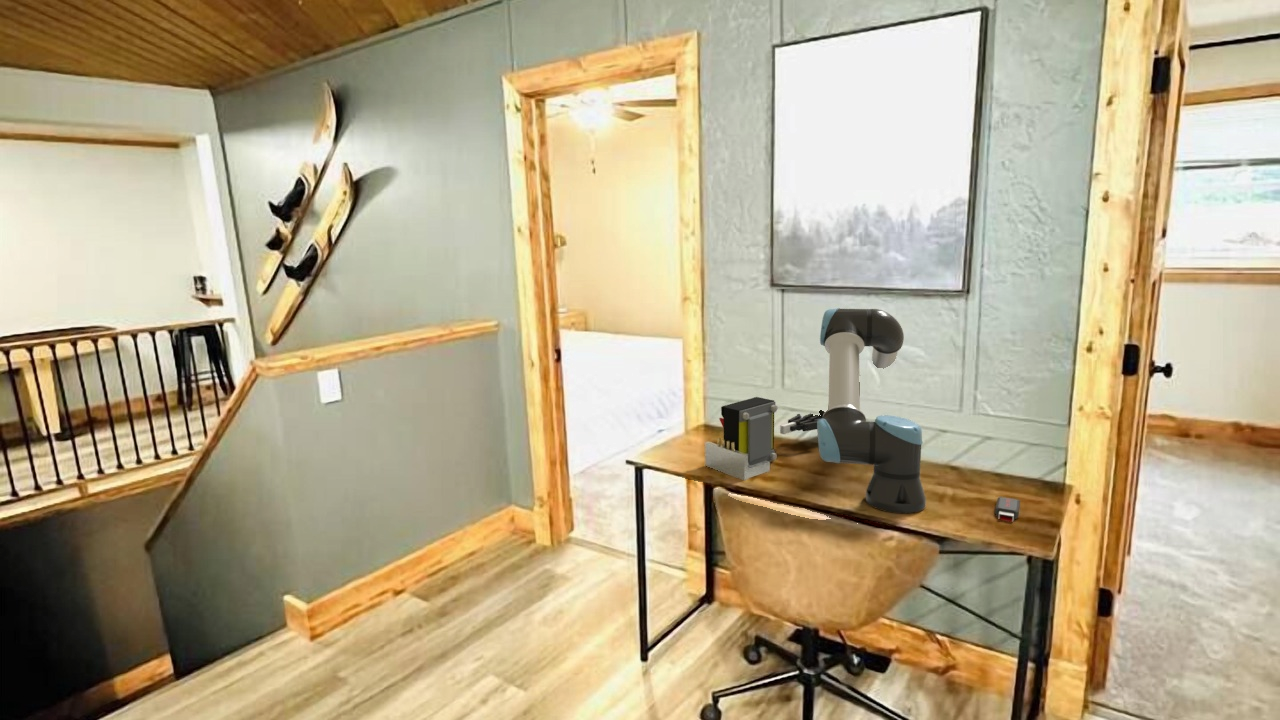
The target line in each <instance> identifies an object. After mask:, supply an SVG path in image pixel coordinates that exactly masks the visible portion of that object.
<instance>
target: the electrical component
mask: <svg viewBox="0 0 1280 720" xmlns="http://www.w3.org/2000/svg"><path fill="white" fill-rule="evenodd" d="M720 409H721V410H720V415H721V416H722V417H719V422H720V425H721V426H722V428H723V439H724V440H725V447H727V441H730V448H731V443H732V442H734V450H737V451H740V452H743V453H746V454H748V466H751V465H754V464H757V463H760V462H763V461H769V462H770V463H771V462H772V461H775V460H777V457H778V455H777V453H776V452H775V451H776V449H775V413H777V411H778V406H777V404H776V401H775V399H774V400H773V399H768V398H763V397H758V396H755V397H751V398H747V399H744V400H740V401H737V402H733V403H730V404H726V405H722V406H721V408H720Z"/></svg>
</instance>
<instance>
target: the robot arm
mask: <svg viewBox="0 0 1280 720" xmlns="http://www.w3.org/2000/svg"><path fill="white" fill-rule="evenodd" d="M904 335H905V334H904V331H903V328H902V326H901V324H900V322H899V321H898V320H897V319H896V318H895V317H894V316H893V315H892V314H890V313H888V312H887V311H885V310H882V309H879V308H840V307H838V308H829V309H827V310H825V312H824V313H823V317H822V321H821V328H820V335H819V341H820V342H819V343H820V344H819V345H821V346H824V348H825V351H826V352H827V353H828V354H829V364H828V365H829V368H828V369H829V370H828V404H827V405H828V410H827V411H826V412H824V411H822V410H820V411H819V413H820V415H821V416H820V415H819V416H818V415H815V416H813V414H811V413H809V414H805V415H804V416H803V415H802V414H800V413H797V414H796V415H795V416H793V417H791V418H789V419H787V423H784V424H781V425H780V426H779V427H780V428H779V429H780V430H779V433H780V435H781V434H782V435H786V434H789V433H792V432H793V433H794V432H795V431H802V432H810V431H814V430H816V431H817V433H816V434H817V441H818V442H817V445H818V450H819V455H820V458H821V460H823V461H824V462H827V463H836V464H840V463H841V464H853V465H855V464H856V465H870V466H873V473H872V476H871V478H870V481H869V483H868V486H867V488H866V491H865V501H866V503H867V504H868V505H869V506H871V507H873V508H874V509H878V510H880V511H884V512H887V513H895V514H913V512H915V513H919V512H921V511H923V510H925V509H926V503H927V502H926V501H927V497H926V495H925V491H924V488H923V485H922V482H921V481H922V480H921V462H922V461H921V459H922V445H923V431H922V427H921V426H920V425H919V424H918V423H916V422H915V421H913V420H910V419H908V418H905V417H901V416H895V415H888V414H887V415H885V414H884V415H882V414H881V415H877V416H876V418H875V419H874V421H867V417H866V414H864V413H863V412H862V411H861V407H860V406H861V401H860V400H861V398H860V382H859V376H860V354H861V353H862V352H863V350H864V349H865V347H872V354H871V360H872V361H873V364H874V365H875V366H876V367H877V368H883V369H884V368H886V367H888V366H890V365H891V364H892V363H893V362H894V361H895V359H896V360H897V357H896V356H898V352H899V351H900V350H901V349H902V347H903V346H904V345H903V344H904V340H905V339H904V338H905V337H904ZM918 511H919V512H918Z"/></svg>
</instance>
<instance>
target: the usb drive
mask: <svg viewBox="0 0 1280 720" xmlns="http://www.w3.org/2000/svg"><path fill="white" fill-rule="evenodd" d="M1020 507H1021V501H1020V500H1019V499H1017V498H1016V499H1015V498H1012V497H1011V498H1010V497H1005V496H1004V497H1003V496H999V497H997V501H996V505H995V508H994V509H995V510H994V514H996V515H997V516H996V515H995V516H996V517H998V519H999V518H1000V519H1001V520H1000V521H1004V520H1005V521H1004V522H1009V521H1011V522H1010V523H1013V522H1014V520H1017V518H1018V519H1019V516H1020Z"/></svg>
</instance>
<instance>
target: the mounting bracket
mask: <svg viewBox="0 0 1280 720" xmlns="http://www.w3.org/2000/svg"><path fill="white" fill-rule="evenodd" d="M704 454H705V455H704V459H705V460H704V463H705V465H704V466H705V467H706V466H707V467H706V468H708V467H710V468H709V469H711V468H713V469H712V470H714V469H715V470H714V471H717V470H718V471H717V472H720V471H721V472H720V473H722V472H723V473H722V474H725V475H728V476H730V477H734V478H736V479H739V480H741V481H747V480H748V479H750V478H753V477H756V476H759V475H761V474H764V473H768V472H770V471H771V469H770V468H771V461H770V462H769V461H763V462H760V463H757V464H754V465H751V466H748V454H746V453H743V452H740V451H737V450H734V442H732V443H731V448H730V441H727V447H725V440H724V438H723V439H722V440H721V438H720V437H718V438H717V443H714V442H711V441H705V442H704Z"/></svg>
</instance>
